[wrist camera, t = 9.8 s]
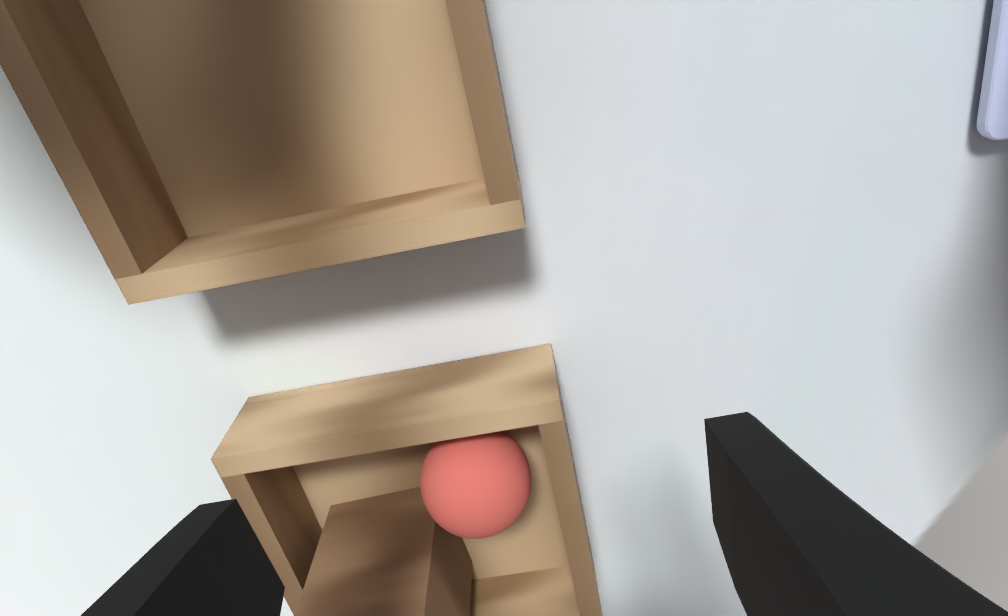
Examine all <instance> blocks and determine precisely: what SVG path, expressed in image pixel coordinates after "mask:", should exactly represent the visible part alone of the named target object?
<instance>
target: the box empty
mask: <svg viewBox="0 0 1008 616" xmlns="http://www.w3.org/2000/svg"><path fill="white" fill-rule="evenodd" d="M0 65H1V66H2V68H3V70H4V72H5V74H6V76H7V78H8V80H9V81H10V83H11V85H12V87H13V89H14V91H15V93H16V95H17V97H18V98H19V100H20V102H21V104H22V106H23V108H24V110H25V112H26V113H27V115H28V117H29V119H30V121H31V123H32V125H33V127H34V128H35V130H36V132H37V134H38V136H39V138H40V140H41V142H42V143H43V145H44V147H45V149H46V151H47V153H48V155H49V157H50V158H51V160H52V162H53V164H54V166H55V168H56V170H57V172H58V173H59V175H60V177H61V179H62V181H63V183H64V185H65V187H66V188H67V190H68V192H69V194H70V196H71V198H72V200H73V202H74V203H75V205H76V207H77V209H78V211H79V213H80V215H81V217H82V218H83V220H84V222H85V224H86V226H87V228H88V230H89V232H90V233H91V235H92V237H93V239H94V241H95V243H96V245H97V247H98V249H99V250H100V252H101V254H102V256H103V258H104V260H105V262H106V264H107V265H108V267H109V269H110V271H111V273H112V275H113V277H114V279H115V280H116V282H117V284H118V286H119V288H120V290H121V292H122V294H123V295H124V297H125V299H126V301H127V303H128V305H129V304H134V303H140V302H145V301H150V300H155V299H160V298H165V297H171V296H176V295H181V294H186V293H191V292H197V291H202V290H207V289H212V288H217V287H222V286H228V285H233V284H238V283H243V282H248V281H253V280H259V279H264V278H269V277H274V276H279V275H284V274H290V273H295V272H300V271H305V270H310V269H315V268H321V267H326V266H331V265H336V264H341V263H346V262H352V261H357V260H362V259H367V258H372V257H377V256H383V255H388V254H393V253H398V252H403V251H408V250H414V249H419V248H424V247H429V246H434V245H439V244H445V243H450V242H455V241H460V240H465V239H471V238H476V237H481V236H486V235H491V234H496V233H502V232H507V231H512V230H517V229H522V228H526V227H525V218H524V209H523V201H522V192H521V186H520V181H519V176H518V171H517V166H516V160H515V155H514V150H513V145H512V140H511V135H510V129H509V124H508V119H507V114H506V109H505V104H504V98H503V93H502V88H501V83H500V78H499V73H498V67H497V62H496V57H495V52H494V47H493V42H492V36H491V31H490V26H489V21H488V16H487V11H486V5H485V0H0Z"/></svg>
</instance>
